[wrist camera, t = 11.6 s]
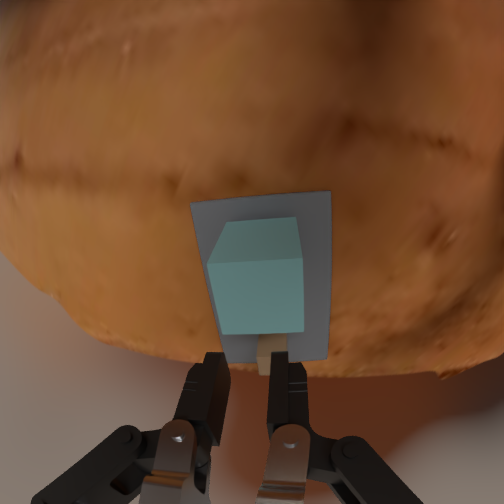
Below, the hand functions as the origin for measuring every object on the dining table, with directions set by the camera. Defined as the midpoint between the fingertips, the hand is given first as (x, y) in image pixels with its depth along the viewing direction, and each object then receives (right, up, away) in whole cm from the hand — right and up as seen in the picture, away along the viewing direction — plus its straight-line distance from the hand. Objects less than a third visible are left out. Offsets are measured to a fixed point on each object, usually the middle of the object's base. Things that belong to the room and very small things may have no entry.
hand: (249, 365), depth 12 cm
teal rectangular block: (+1, +5, +10) cm, 12 cm away
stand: (+2, +1, +14) cm, 14 cm away
